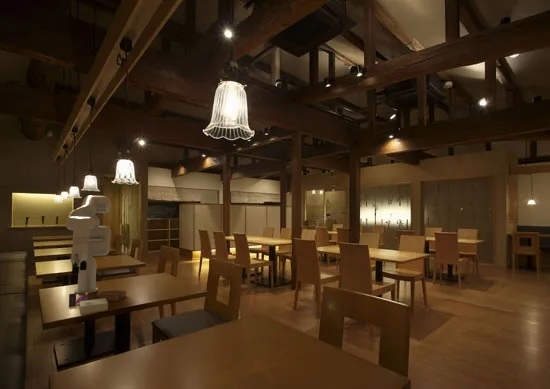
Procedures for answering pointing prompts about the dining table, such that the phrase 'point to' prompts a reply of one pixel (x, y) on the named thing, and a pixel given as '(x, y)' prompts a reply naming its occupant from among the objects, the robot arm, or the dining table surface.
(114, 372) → the dining table surface
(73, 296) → the purple printed box
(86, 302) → the sage block
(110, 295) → the walnut block
